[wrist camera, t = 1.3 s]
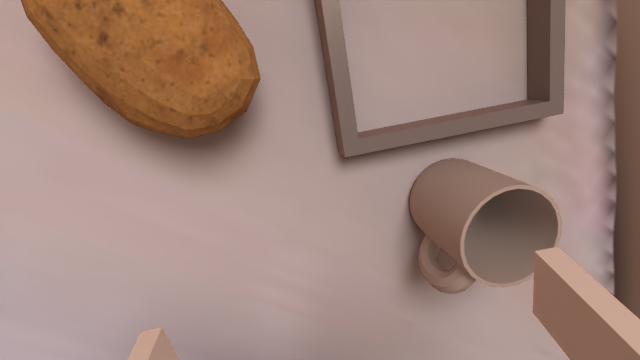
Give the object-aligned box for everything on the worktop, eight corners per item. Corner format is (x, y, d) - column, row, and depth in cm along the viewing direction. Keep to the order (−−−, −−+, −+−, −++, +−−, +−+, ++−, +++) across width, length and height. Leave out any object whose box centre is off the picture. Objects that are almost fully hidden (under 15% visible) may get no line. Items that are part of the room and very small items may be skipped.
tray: (540, 111, 32) (563, 113, 30) (338, 151, 30) (345, 157, 28) (540, -137, 27) (568, -158, 25) (297, -107, 25) (301, -127, 23)
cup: (499, 180, 33) (581, 214, 25) (438, 272, 35) (496, 334, 26) (436, 141, 31) (503, 164, 23) (375, 240, 33) (415, 296, 24)
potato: (111, -93, 24) (40, -175, 16) (286, 53, 28) (297, 43, 20) (29, 33, 25) (-73, 12, 17) (210, 157, 29) (192, 185, 21)
